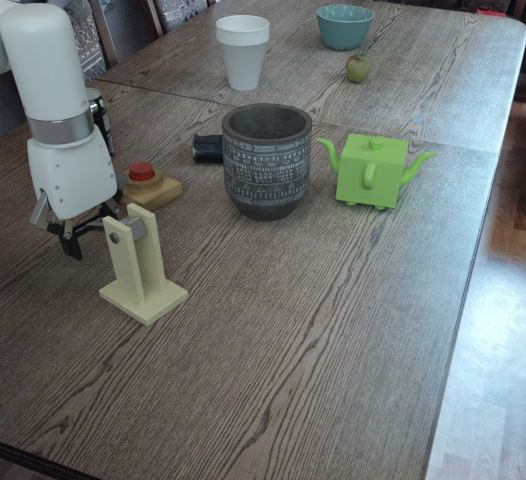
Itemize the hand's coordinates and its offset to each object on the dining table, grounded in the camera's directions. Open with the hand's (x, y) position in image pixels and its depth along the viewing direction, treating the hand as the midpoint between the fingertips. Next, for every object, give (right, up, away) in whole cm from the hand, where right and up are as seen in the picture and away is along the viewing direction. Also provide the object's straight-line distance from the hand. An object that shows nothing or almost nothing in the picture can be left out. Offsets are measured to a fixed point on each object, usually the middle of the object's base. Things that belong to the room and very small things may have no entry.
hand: (93, 244), depth 80 cm
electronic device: (+19, +23, +29) cm, 41 cm away
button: (+4, +15, +16) cm, 22 cm away
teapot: (+43, +12, +18) cm, 49 cm away
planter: (+25, +10, +16) cm, 31 cm away
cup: (+20, +49, +54) cm, 76 cm away
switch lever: (+4, 0, -5) cm, 7 cm away
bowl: (+47, +70, +75) cm, 113 cm away
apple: (+48, +52, +57) cm, 91 cm away
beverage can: (-8, +23, +29) cm, 37 cm away
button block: (+4, +12, +18) cm, 22 cm away
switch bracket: (+8, -8, -1) cm, 11 cm away
